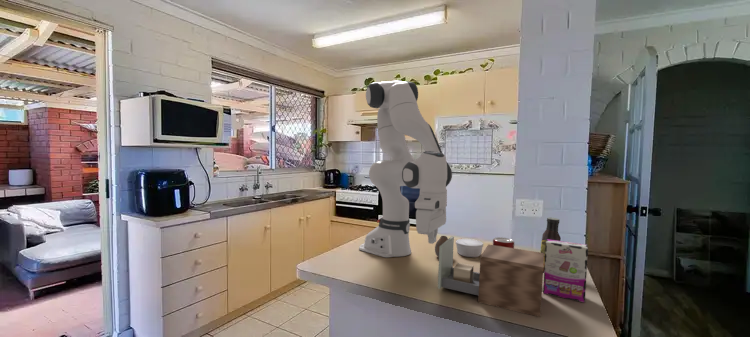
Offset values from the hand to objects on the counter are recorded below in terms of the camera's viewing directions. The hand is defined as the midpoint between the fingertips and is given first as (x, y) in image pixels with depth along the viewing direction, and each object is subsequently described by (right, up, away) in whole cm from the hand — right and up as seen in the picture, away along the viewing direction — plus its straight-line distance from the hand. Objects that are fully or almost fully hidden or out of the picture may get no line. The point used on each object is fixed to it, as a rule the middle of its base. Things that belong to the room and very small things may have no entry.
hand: (432, 242), depth 106 cm
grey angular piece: (+10, -12, -5) cm, 17 cm away
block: (+9, -12, -4) cm, 15 cm away
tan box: (+21, -14, -10) cm, 28 cm away
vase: (+9, -12, +26) cm, 30 cm away
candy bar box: (+39, -15, -6) cm, 43 cm away
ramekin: (+21, -12, +32) cm, 40 cm away
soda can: (+27, -14, +11) cm, 33 cm away
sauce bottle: (+46, -14, +14) cm, 50 cm away
